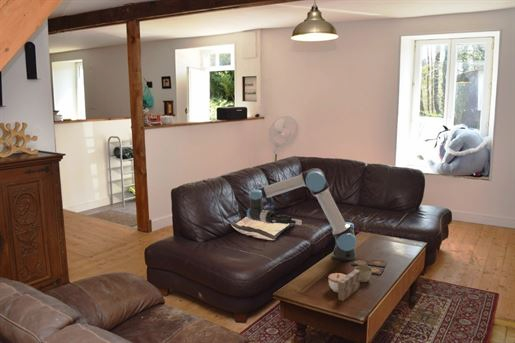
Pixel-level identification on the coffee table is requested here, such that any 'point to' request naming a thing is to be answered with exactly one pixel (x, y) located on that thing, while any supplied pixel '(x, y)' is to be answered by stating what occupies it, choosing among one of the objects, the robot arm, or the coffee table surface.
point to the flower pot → (364, 272)
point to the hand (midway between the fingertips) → (301, 222)
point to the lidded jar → (335, 280)
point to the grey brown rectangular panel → (348, 285)
